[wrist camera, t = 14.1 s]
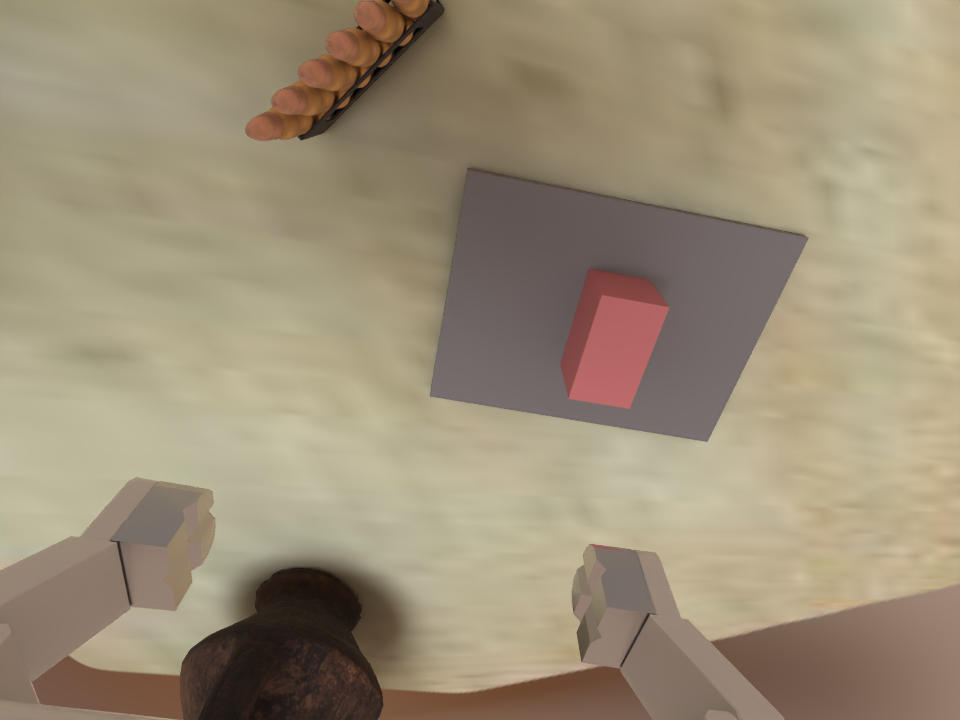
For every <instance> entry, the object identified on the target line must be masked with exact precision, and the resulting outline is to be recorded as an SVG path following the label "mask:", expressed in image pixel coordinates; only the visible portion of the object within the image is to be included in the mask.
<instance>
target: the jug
mask: <svg viewBox="0 0 960 720" xmlns="http://www.w3.org/2000/svg"><path fill="white" fill-rule="evenodd" d="M357 595H358V594H357ZM255 607H256V610H257V612H258V613H256V614H254V615H252V616H250V617H248V618H247V619H244V620H242V621H240V622H238V623H235V624H233V625H231V626H229V627H226V628H224V629H222V630H219V631H217V632H215V633H213V634H211V635H209V636H208V637H206V638H205V639H203V640H202V641H200V642H199V643H198V644H196V645H195V646H194V647H193V648H191V649H190V651H189V652H188V654H187V655H186V657H185V658H184V660H183V662H182V667H181V674H180V697H181V704H182V711H183V719H184V720H377V719H378V718H379V716H380V714H381V710H382V707H383V696H382V691H381V688H380V685H379V683H378V681H377V678H376V676H375V674H374V672H373V670H372V668H371V665H370V663H369V662H368V661H367V659H366V658H365V657H364V656H363V655H362V653H361V651H360V649H359V647H358V645H357V643H356V641H355V639H354V637H353V635H352V633H351V631H352V630H353V629H354V627H355V626H356V624H357V623H358V621H359V620H360V618H361V617H360V614H361V610H362V609H361V604H359V603H358V598H357V597H356V596H355V594H354V593H353V592H352V590H351V589H349V588H348V587H347V586H346V585H344V584H343V583H342V582H341V581H339V580H338V579H336V578H334V577H332V576H331V575H329V574H326V573H322V572H318V571H315V570H303V569H288V570H282V571H279V572H277V573H275V574H273V575H272V576H271V578H270V580H269V581H267V580H266V581H265V582H263V583H262V584H261V586H260V587H259V589H258V590H257V591H256V601H255ZM362 616H363V615H362Z"/></svg>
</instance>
